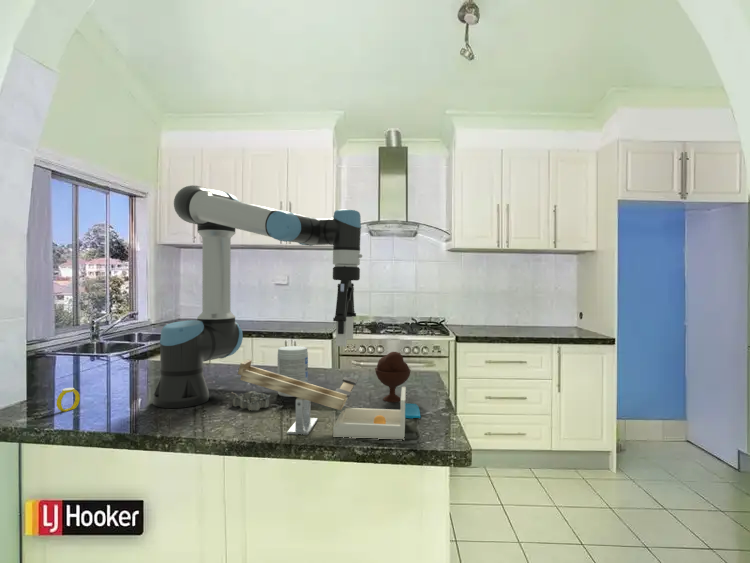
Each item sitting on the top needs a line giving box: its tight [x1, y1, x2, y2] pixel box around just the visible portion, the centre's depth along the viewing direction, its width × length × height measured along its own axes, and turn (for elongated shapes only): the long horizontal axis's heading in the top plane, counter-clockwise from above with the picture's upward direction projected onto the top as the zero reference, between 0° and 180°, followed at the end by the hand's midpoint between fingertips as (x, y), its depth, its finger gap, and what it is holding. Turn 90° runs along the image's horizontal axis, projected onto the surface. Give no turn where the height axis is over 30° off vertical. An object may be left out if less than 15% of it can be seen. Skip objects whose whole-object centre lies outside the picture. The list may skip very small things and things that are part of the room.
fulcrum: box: [286, 397, 319, 436], centre depth 113 cm, size 5×11×8 cm, turn 175°
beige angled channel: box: [237, 359, 358, 411], centre depth 124 cm, size 28×26×4 cm
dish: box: [332, 386, 407, 441], centre depth 112 cm, size 17×13×9 cm
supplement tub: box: [277, 345, 309, 398], centre depth 145 cm, size 10×10×15 cm
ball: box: [374, 415, 386, 424], centre depth 112 cm, size 3×3×3 cm
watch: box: [56, 387, 81, 413], centre depth 125 cm, size 6×3×6 cm, turn 165°
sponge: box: [405, 402, 422, 419], centre depth 127 cm, size 2×12×6 cm
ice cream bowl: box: [374, 351, 411, 403], centre depth 139 cm, size 11×11×15 cm
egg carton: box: [230, 390, 272, 411], centre depth 131 cm, size 11×8×4 cm
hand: (344, 342), depth 126 cm, fingers open, 13 cm apart
